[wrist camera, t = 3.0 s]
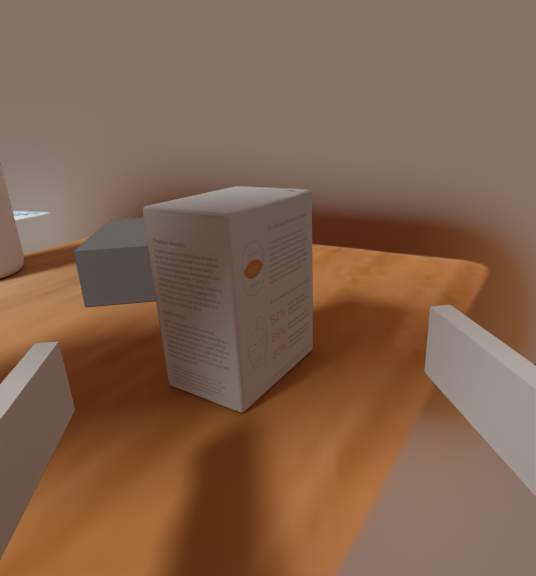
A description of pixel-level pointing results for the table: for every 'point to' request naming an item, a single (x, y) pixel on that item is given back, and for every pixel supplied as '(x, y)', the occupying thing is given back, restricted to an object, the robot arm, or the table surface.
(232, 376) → the small box
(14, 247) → the wine bottle
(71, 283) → the table surface
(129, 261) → the plinth
